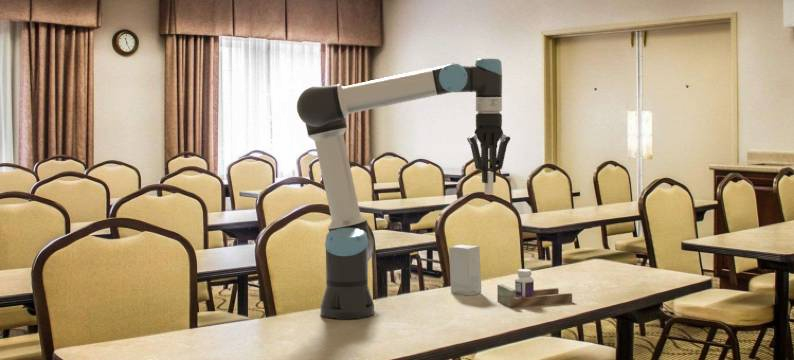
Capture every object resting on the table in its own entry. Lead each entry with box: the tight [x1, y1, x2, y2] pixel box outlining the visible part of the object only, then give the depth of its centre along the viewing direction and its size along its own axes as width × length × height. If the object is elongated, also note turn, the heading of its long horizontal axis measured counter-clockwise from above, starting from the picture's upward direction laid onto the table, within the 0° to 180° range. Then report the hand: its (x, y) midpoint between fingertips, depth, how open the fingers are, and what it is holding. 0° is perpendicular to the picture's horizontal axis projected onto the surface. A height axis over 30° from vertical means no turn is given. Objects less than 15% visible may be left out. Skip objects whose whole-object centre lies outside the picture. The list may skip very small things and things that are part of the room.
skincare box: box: [448, 244, 482, 296], centre depth 279 cm, size 8×6×15 cm
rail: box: [497, 284, 573, 308], centre depth 267 cm, size 20×9×5 cm, turn 110°
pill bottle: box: [514, 268, 535, 298], centre depth 265 cm, size 5×5×10 cm
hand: (488, 194), depth 261 cm, fingers closed
